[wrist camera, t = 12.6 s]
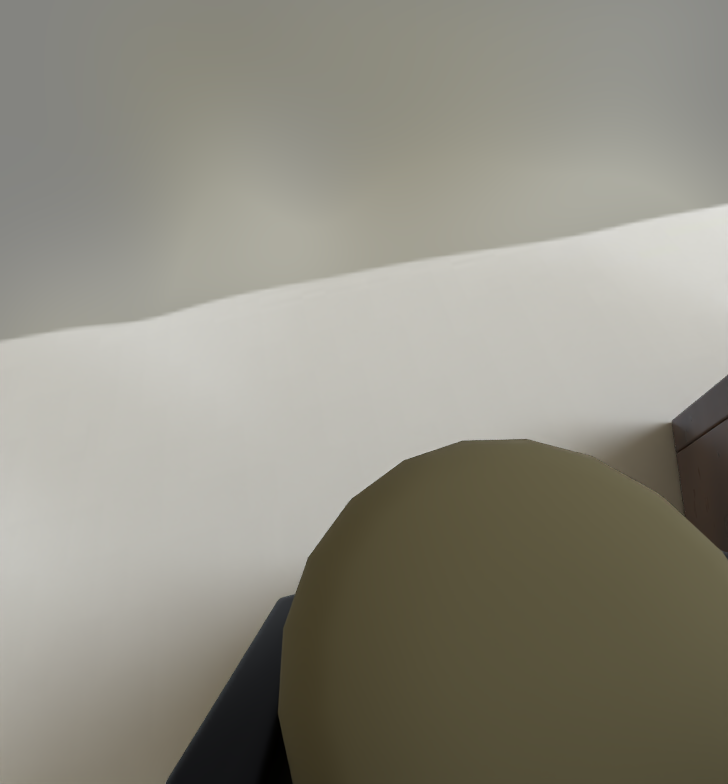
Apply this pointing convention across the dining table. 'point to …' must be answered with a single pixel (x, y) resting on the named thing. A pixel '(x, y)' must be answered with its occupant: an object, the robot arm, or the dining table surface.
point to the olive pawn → (508, 630)
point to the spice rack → (705, 463)
